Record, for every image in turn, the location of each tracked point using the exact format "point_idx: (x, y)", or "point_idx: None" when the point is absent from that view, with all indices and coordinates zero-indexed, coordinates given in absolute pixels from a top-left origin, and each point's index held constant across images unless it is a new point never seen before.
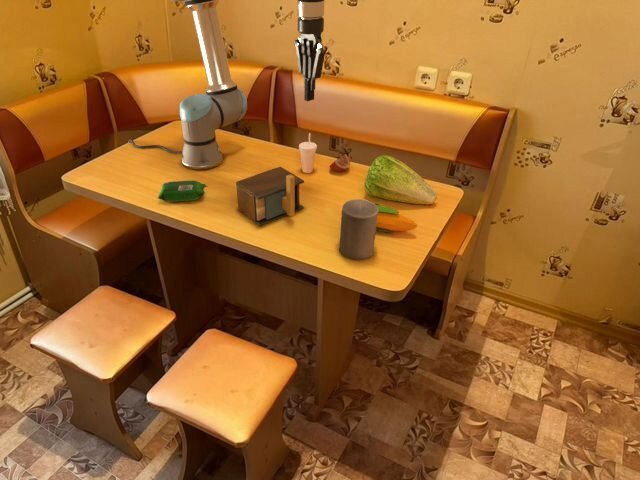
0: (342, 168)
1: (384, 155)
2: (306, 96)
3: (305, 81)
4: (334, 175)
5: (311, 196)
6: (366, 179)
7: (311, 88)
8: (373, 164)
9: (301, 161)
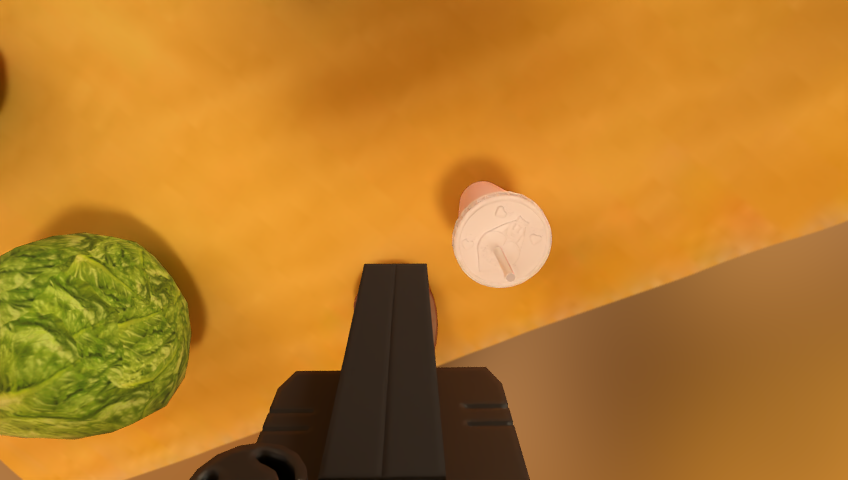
0: (355, 299)
1: (44, 399)
2: (383, 289)
3: (410, 434)
4: (375, 262)
5: (280, 63)
6: (72, 249)
7: (280, 396)
8: (60, 323)
9: (501, 188)
